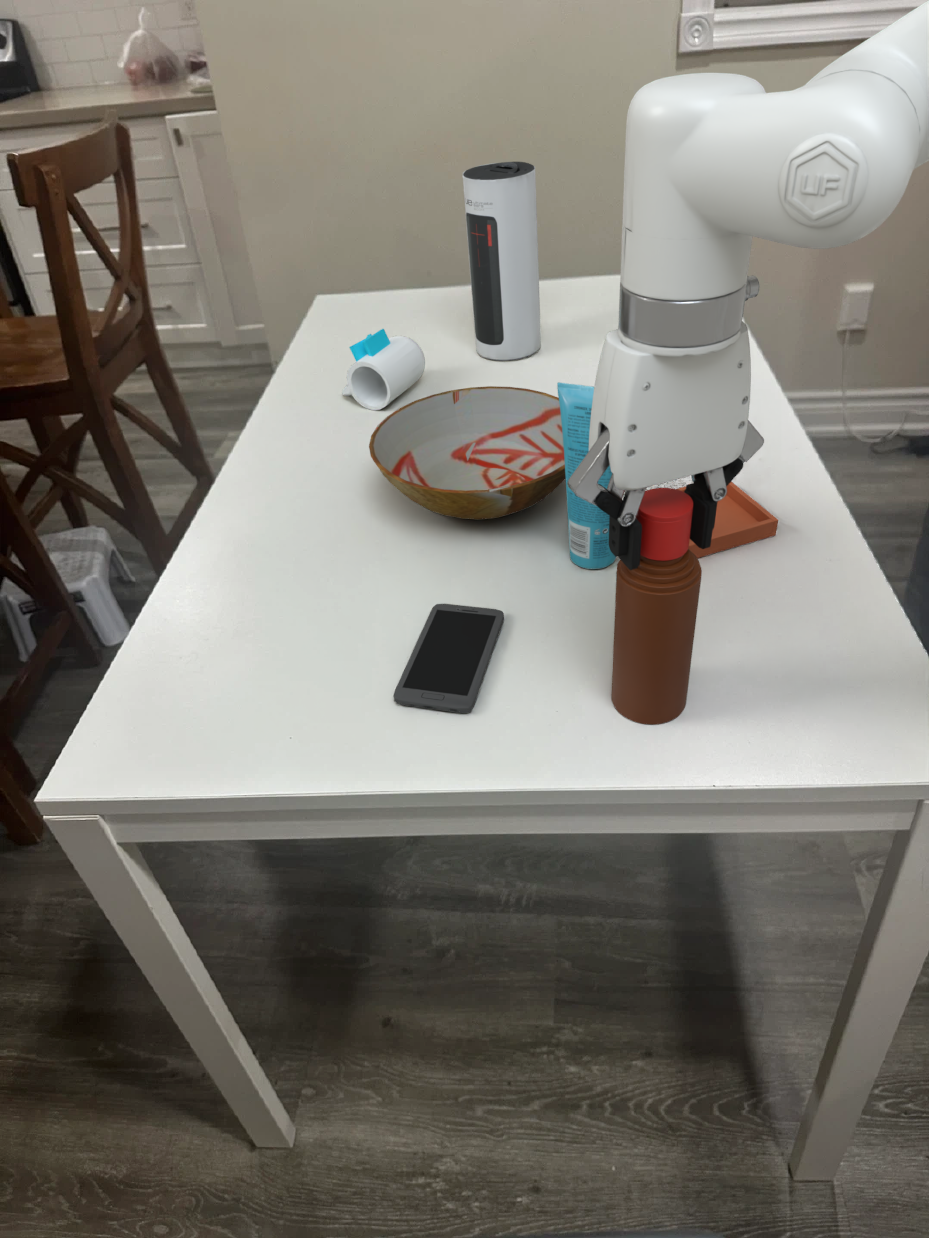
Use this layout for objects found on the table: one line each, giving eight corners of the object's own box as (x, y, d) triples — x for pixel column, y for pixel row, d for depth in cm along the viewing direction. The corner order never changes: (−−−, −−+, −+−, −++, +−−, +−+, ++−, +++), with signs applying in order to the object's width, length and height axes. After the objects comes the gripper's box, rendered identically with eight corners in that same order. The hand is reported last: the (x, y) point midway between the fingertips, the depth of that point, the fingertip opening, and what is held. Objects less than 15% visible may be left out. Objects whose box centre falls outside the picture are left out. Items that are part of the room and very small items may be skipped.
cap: (671, 524, 67) (675, 482, 64) (699, 552, 64) (705, 508, 61) (623, 538, 66) (625, 495, 64) (650, 566, 63) (653, 523, 61)
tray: (722, 490, 100) (724, 475, 98) (776, 535, 92) (778, 519, 91) (627, 516, 97) (628, 501, 96) (674, 565, 90) (676, 549, 88)
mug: (413, 310, 124) (367, 342, 116) (440, 368, 128) (398, 403, 120) (356, 333, 131) (309, 365, 124) (383, 388, 135) (340, 422, 127)
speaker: (462, 347, 138) (447, 167, 121) (515, 330, 142) (508, 153, 125) (500, 367, 131) (490, 179, 114) (555, 348, 134) (552, 164, 118)
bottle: (662, 664, 78) (679, 477, 66) (700, 711, 74) (727, 518, 61) (598, 685, 77) (604, 497, 64) (633, 733, 72) (646, 541, 60)
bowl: (403, 576, 92) (393, 512, 87) (361, 466, 111) (351, 408, 106) (623, 526, 96) (627, 463, 91) (547, 428, 115) (546, 371, 110)
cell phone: (391, 704, 77) (390, 698, 76) (435, 607, 87) (434, 601, 87) (471, 715, 75) (470, 709, 75) (506, 614, 85) (505, 609, 85)
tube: (631, 548, 92) (640, 379, 80) (622, 575, 89) (630, 402, 77) (563, 540, 95) (562, 373, 82) (552, 565, 91) (549, 396, 79)
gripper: (763, 268, 58) (730, 498, 70) (529, 318, 55) (536, 552, 66) (836, 302, 53) (788, 546, 64) (581, 360, 49) (579, 608, 61)
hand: (660, 547), depth 65 cm, fingers open, 5 cm apart
